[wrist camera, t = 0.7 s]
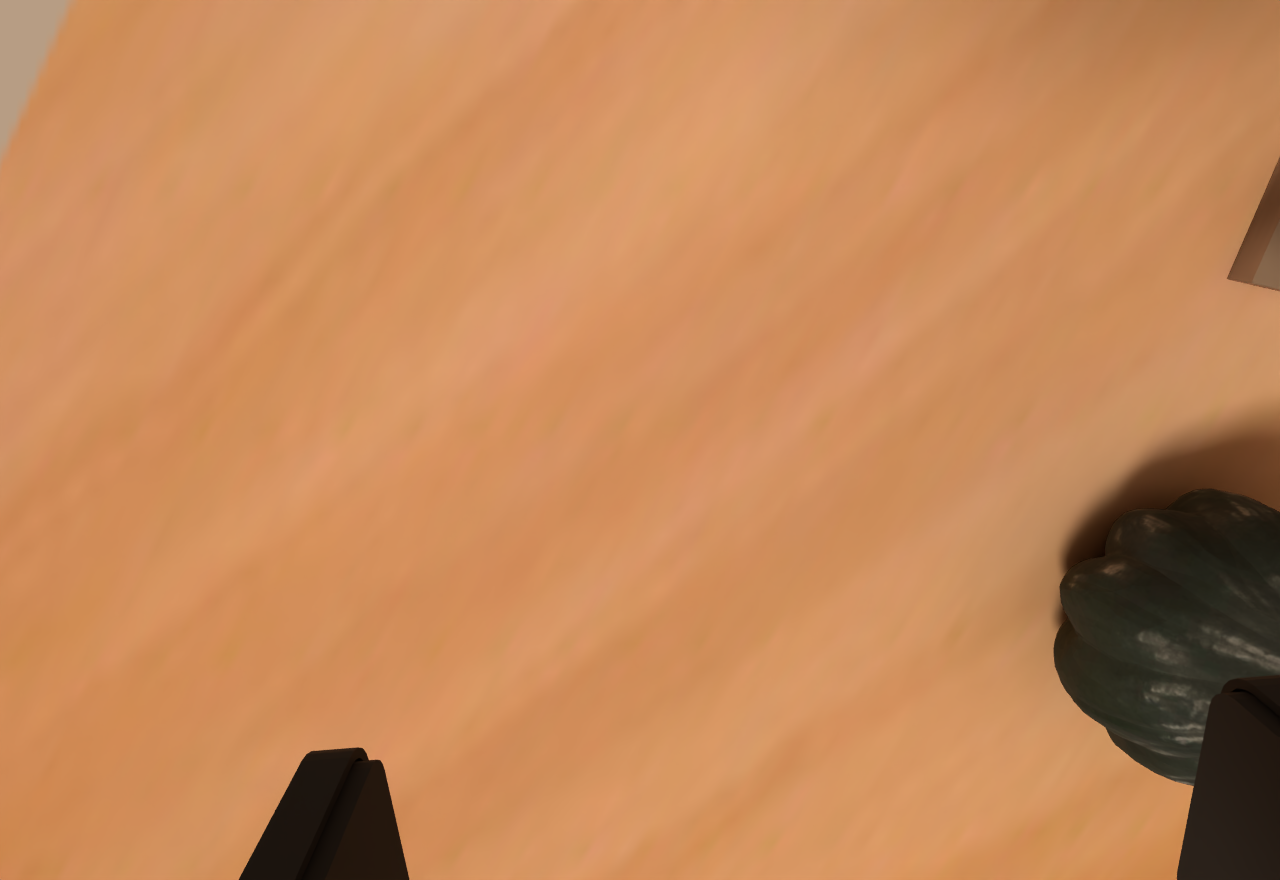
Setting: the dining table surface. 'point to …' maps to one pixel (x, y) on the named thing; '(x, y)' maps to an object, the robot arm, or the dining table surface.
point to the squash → (1172, 622)
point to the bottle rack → (1262, 242)
